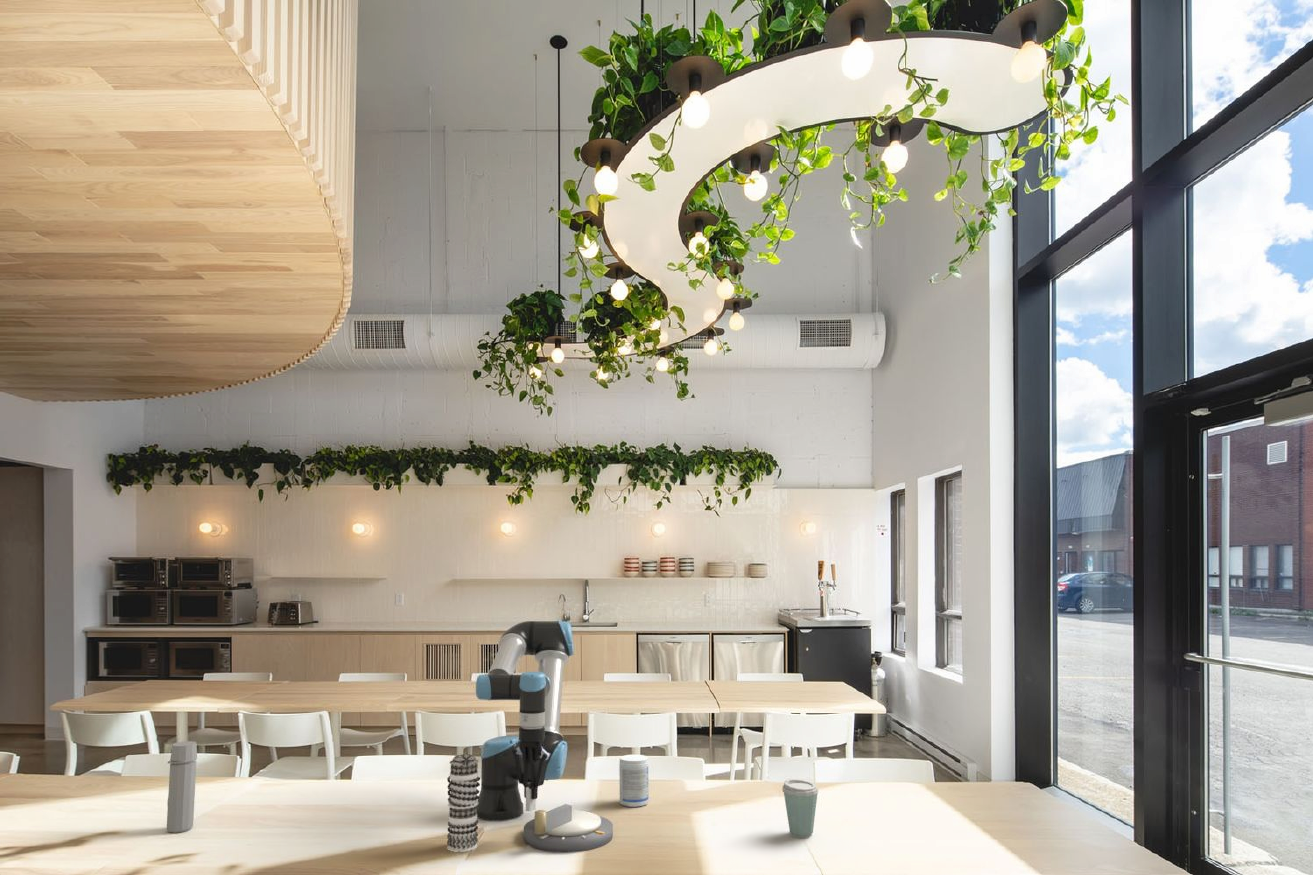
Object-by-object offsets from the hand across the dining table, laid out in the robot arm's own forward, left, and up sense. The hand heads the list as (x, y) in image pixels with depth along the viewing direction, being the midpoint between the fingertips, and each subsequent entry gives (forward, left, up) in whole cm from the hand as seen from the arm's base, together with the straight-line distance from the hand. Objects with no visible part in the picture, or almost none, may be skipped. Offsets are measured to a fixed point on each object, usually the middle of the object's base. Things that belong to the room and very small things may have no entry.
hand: (530, 809), depth 266 cm
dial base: (+8, +8, -8) cm, 14 cm away
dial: (+8, +6, -5) cm, 11 cm away
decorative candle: (-12, -15, -9) cm, 21 cm away
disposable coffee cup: (+65, +46, -9) cm, 80 cm away
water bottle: (-95, -49, -9) cm, 108 cm away
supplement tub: (+6, +46, -9) cm, 47 cm away
